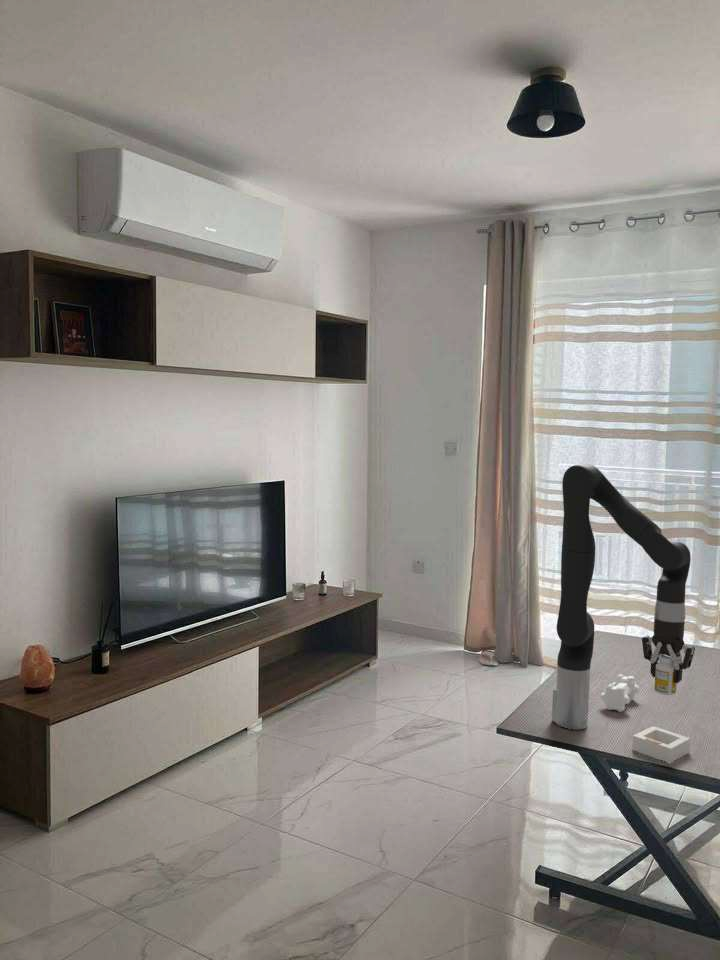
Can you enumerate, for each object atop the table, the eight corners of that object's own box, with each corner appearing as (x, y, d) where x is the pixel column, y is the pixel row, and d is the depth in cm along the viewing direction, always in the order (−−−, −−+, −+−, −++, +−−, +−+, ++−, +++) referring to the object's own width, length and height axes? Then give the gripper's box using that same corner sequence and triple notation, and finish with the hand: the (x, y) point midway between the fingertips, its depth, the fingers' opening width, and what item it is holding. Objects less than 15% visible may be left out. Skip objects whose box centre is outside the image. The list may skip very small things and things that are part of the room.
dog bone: (613, 697, 256) (612, 672, 256) (641, 700, 251) (640, 674, 251) (600, 711, 244) (598, 684, 243) (628, 714, 239) (627, 688, 239)
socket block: (632, 750, 214) (633, 734, 213) (652, 740, 221) (653, 725, 220) (669, 763, 206) (670, 747, 205) (689, 752, 213) (690, 737, 212)
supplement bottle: (670, 688, 216) (672, 653, 215) (679, 695, 210) (681, 659, 210) (650, 688, 215) (652, 653, 215) (659, 695, 210) (661, 659, 209)
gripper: (637, 614, 214) (633, 675, 215) (689, 625, 203) (685, 689, 205) (650, 609, 219) (647, 670, 220) (702, 620, 208) (698, 683, 210)
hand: (665, 679), depth 213 cm, fingers closed on supplement bottle, 5 cm apart
